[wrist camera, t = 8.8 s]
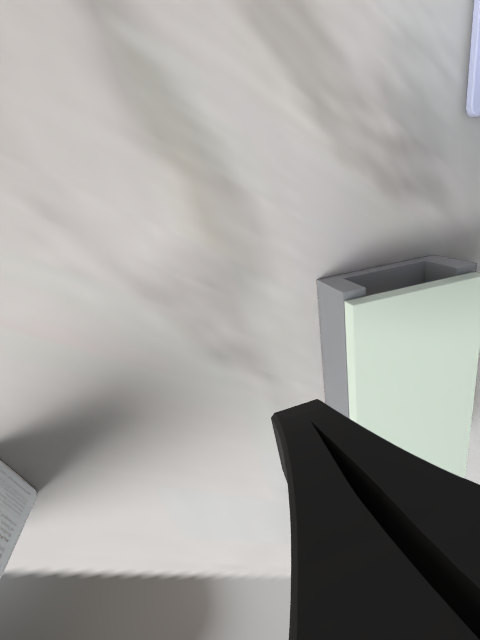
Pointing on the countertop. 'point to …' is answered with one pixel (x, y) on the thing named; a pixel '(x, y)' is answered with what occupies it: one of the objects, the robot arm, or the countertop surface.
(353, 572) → the robot arm
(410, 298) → the cover
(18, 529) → the skincare box
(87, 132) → the countertop surface
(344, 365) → the grey open tray
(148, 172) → the countertop surface
